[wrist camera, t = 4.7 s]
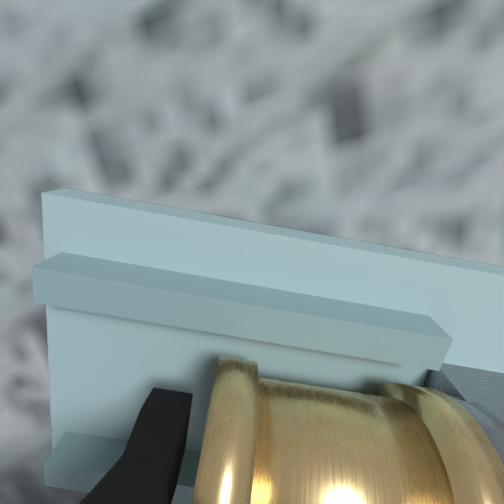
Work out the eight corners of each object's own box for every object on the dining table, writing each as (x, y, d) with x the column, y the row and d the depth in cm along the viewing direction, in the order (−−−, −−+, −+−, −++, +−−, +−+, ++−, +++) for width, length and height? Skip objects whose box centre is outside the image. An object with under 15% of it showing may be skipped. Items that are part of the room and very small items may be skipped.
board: (422, 510, 13) (453, 578, 11) (68, 455, 13) (30, 516, 11) (545, 274, 10) (623, 309, 8) (64, 188, 9) (6, 199, 7)
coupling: (206, 446, 11) (161, 690, 6) (226, 319, 9) (187, 513, 4) (371, 470, 11) (460, 728, 6) (420, 350, 9) (595, 570, 4)
